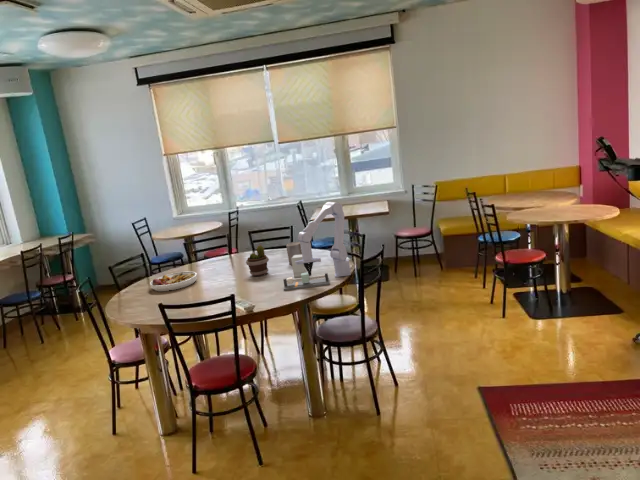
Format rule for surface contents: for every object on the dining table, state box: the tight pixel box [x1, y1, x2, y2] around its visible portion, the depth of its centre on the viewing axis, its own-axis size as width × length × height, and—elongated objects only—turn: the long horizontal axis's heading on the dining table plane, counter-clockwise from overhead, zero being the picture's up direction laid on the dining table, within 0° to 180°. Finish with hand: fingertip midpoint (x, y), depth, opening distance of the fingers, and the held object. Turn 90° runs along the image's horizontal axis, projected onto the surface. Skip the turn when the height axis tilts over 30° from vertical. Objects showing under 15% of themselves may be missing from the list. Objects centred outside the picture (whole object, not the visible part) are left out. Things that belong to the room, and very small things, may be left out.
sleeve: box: [300, 271, 310, 283], centre depth 295 cm, size 4×4×5 cm
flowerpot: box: [245, 244, 270, 277], centre depth 333 cm, size 14×15×20 cm
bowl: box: [149, 271, 198, 292], centre depth 338 cm, size 30×30×8 cm
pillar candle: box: [285, 241, 302, 266], centre depth 349 cm, size 10×10×15 cm
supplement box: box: [291, 255, 308, 279], centre depth 317 cm, size 7×7×13 cm
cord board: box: [283, 272, 330, 292], centre depth 296 cm, size 26×10×6 cm, turn 89°
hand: (310, 275), depth 295 cm, fingers closed
